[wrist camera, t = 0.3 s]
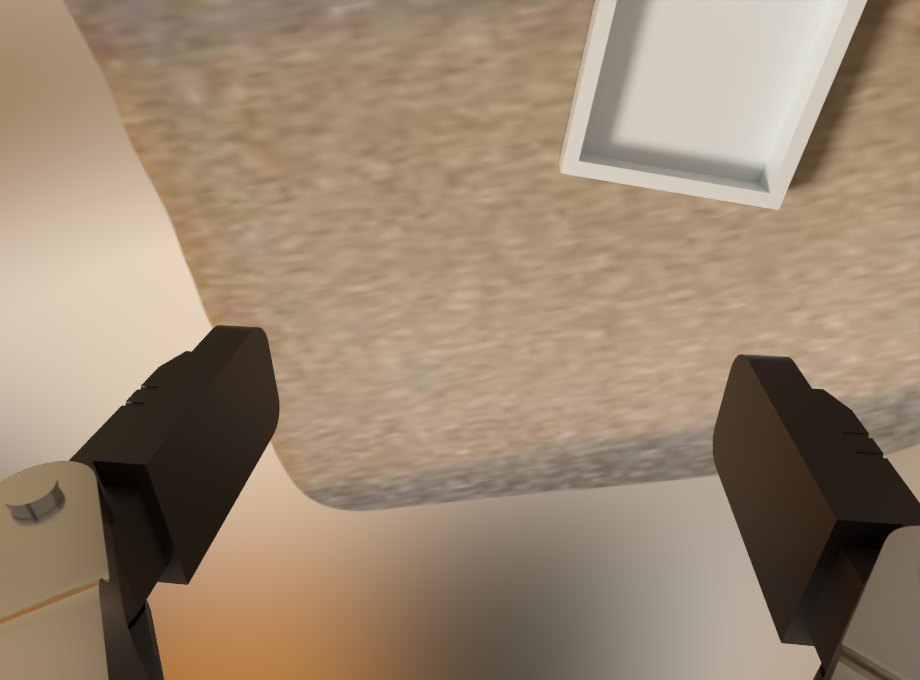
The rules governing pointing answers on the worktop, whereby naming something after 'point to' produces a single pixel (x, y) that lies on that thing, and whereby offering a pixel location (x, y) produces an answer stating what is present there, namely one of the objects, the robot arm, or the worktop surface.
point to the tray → (704, 93)
